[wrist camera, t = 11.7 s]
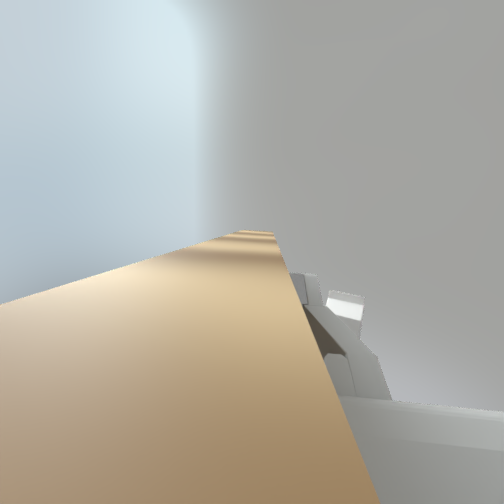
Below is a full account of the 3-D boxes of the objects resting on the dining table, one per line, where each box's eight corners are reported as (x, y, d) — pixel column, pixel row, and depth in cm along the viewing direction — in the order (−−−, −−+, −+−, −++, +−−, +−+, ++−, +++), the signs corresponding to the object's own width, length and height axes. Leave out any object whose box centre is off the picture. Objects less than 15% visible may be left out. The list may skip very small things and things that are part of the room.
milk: (347, 424, 39) (364, 302, 36) (312, 408, 42) (325, 294, 39) (351, 401, 45) (366, 292, 41) (320, 388, 48) (332, 286, 44)
